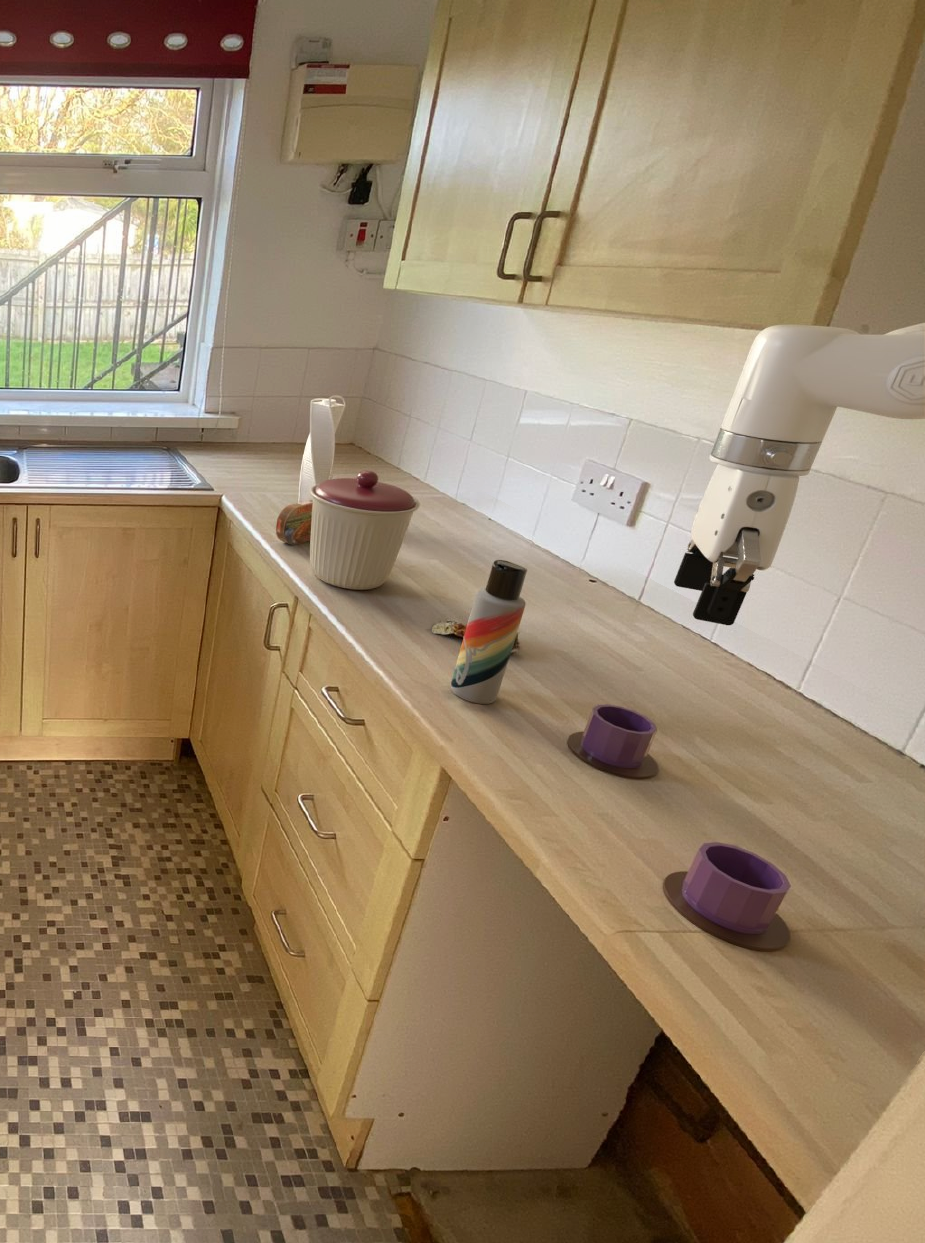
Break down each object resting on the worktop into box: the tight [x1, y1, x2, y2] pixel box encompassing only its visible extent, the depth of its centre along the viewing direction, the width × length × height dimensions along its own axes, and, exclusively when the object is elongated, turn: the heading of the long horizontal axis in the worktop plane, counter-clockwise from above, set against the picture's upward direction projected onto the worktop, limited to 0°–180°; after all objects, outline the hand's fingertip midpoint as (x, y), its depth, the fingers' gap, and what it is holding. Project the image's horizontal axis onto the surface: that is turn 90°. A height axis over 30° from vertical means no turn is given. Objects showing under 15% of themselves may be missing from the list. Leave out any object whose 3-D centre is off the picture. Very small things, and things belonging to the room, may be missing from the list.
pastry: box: [431, 619, 521, 653], centre depth 121 cm, size 7×12×4 cm, turn 53°
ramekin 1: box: [581, 703, 658, 769], centre depth 93 cm, size 6×6×5 cm
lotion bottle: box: [450, 559, 528, 705], centre depth 103 cm, size 6×6×20 cm
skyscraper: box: [297, 394, 347, 503], centre depth 174 cm, size 8×8×28 cm
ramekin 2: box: [681, 841, 792, 934], centre depth 71 cm, size 6×6×5 cm
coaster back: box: [566, 731, 659, 780], centre depth 94 cm, size 9×9×1 cm
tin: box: [275, 500, 313, 546], centre depth 161 cm, size 15×3×8 cm, turn 120°
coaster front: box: [662, 870, 791, 952], centre depth 72 cm, size 9×9×1 cm
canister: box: [309, 470, 421, 591], centre depth 139 cm, size 18×18×21 cm
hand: (700, 604), depth 83 cm, fingers open, 9 cm apart
